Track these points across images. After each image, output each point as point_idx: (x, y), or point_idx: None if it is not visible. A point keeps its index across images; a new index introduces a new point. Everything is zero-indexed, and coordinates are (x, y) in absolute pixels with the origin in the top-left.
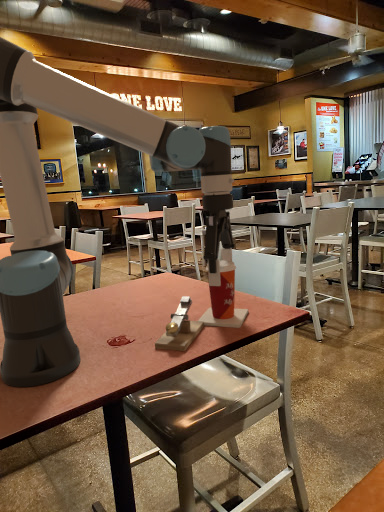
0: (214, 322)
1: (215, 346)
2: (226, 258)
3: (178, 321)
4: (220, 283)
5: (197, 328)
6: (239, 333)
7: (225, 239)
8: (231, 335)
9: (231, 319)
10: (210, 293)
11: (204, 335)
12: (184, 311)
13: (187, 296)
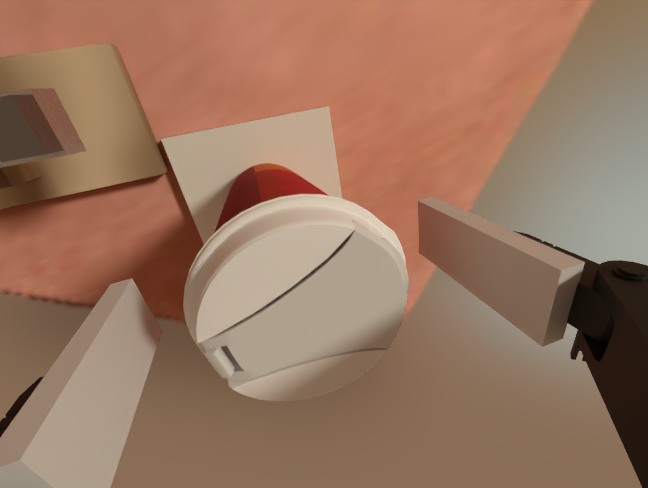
0: (192, 206)
1: (47, 286)
2: (481, 266)
3: None
4: (156, 339)
5: (86, 187)
6: (181, 294)
7: (643, 431)
8: (154, 284)
9: None
10: (230, 197)
11: (96, 214)
12: None
13: (32, 136)
